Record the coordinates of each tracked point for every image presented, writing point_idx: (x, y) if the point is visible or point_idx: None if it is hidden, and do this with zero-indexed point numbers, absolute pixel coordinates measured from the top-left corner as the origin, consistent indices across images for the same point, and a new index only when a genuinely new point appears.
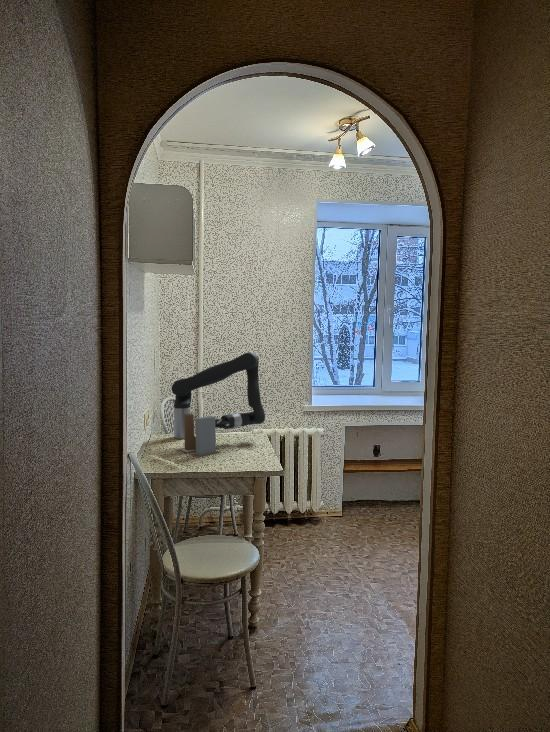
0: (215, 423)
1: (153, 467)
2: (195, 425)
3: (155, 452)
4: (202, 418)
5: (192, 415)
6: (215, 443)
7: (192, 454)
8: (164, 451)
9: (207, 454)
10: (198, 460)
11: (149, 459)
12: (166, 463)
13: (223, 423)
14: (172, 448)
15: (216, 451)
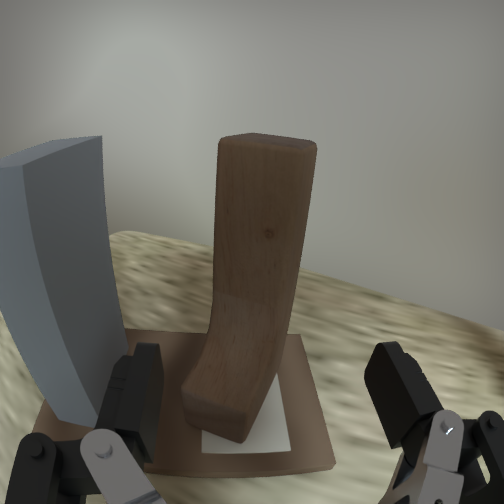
0: (116, 415)
1: (141, 239)
2: (103, 189)
3: (322, 294)
4: (44, 144)
5: (221, 142)
6: (35, 379)
7: (139, 336)
8: (324, 316)
9: None
10: None
11: None
12: (145, 264)
13: (9, 491)
14: (369, 354)
15: None
